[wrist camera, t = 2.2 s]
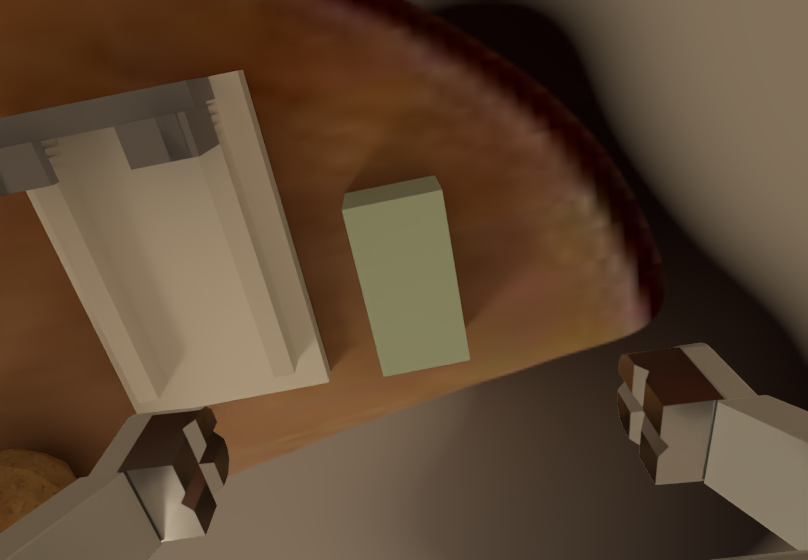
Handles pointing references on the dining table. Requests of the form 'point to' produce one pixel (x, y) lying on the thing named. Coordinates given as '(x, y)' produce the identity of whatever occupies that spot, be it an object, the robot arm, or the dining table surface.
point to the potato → (29, 482)
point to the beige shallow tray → (172, 239)
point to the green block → (407, 274)
